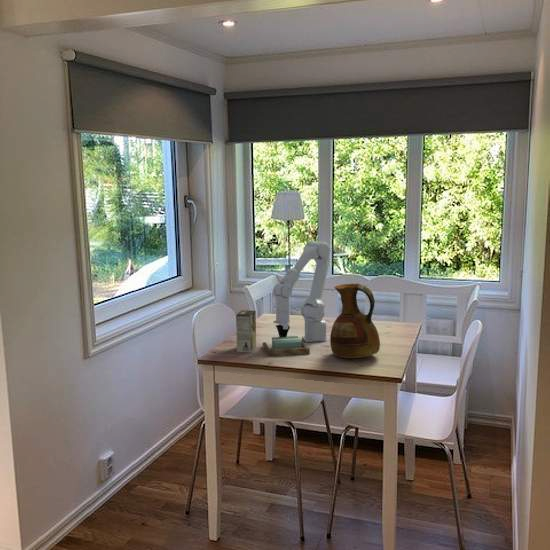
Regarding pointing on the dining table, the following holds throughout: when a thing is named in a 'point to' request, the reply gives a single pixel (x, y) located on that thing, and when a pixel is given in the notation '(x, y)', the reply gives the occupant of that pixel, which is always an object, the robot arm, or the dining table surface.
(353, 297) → the ceramic pitcher
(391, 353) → the dining table surface
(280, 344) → the teal rectangular block
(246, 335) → the coffee box
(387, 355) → the dining table surface
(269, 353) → the display stand
